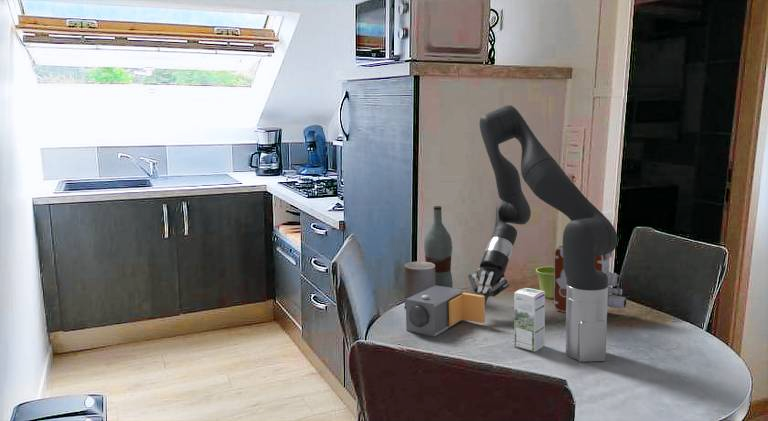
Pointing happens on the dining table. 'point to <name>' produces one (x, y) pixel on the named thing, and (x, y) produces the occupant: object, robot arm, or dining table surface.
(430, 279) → the pillar candle
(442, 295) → the block
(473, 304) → the orange l-shaped bracket
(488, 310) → the dining table surface
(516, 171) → the robot arm
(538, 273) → the plant pot
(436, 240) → the bottle
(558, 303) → the cine camera
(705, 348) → the dining table surface
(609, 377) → the dining table surface
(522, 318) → the syrup box
